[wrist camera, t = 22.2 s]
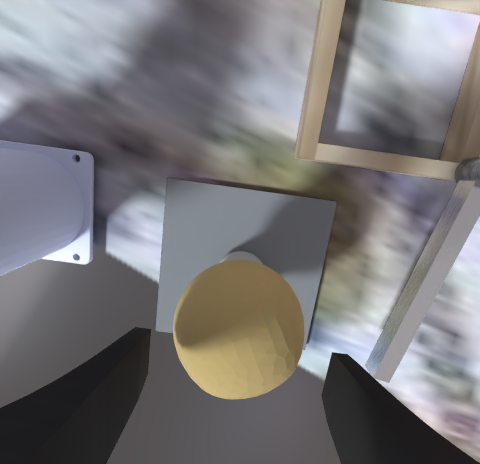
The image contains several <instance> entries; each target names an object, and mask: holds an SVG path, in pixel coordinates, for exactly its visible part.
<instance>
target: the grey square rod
mask: <svg viewBox="0 0 480 464" xmlns="http://www.w3.org/2000/svg"><path fill="white" fill-rule="evenodd" d="M455 180H456V182H457V186H456V188H455V190H454V192H453V193H452V195H451V197H450V199H449V201H448V203H447V205H446V207H445V209H444V211H443V213H442V215H441V217H440V219H439V221H438V223H437V225H436V227H435V229H434V231H433V233H432V235H431V237H430V239H429V241H428V243H427V245H426V247H425V249H424V250H423V252H422V254H421V256H420V258H419V260H418V262H417V264H416V266H415V268H414V270H413V272H412V274H411V276H410V278H409V280H408V282H407V284H406V286H405V288H404V290H403V292H402V294H401V296H400V298H399V300H398V302H397V304H396V306H395V307H394V309H393V311H392V313H391V315H390V317H389V319H388V321H387V323H386V325H385V327H384V329H383V331H382V333H381V335H380V337H379V339H378V341H377V343H376V345H375V347H374V349H373V351H372V353H371V355H370V357H369V359H368V361H367V363H366V364H365V366H366V368H367V369H368V371H369V372H370V374H371V376H372V377H373V378H375V379H378V380H382V381H385V382H388V383H389V382H390V380H391V378H392V376H393V374H394V373H395V371H396V369H397V367H398V365H399V363H400V361H401V360H402V358H403V356H404V354H405V352H406V350H407V349H408V347H409V345H410V343H411V341H412V339H413V337H414V336H415V334H416V332H417V330H418V328H419V326H420V325H421V323H422V321H423V319H424V317H425V315H426V313H427V312H428V310H429V308H430V306H431V304H432V302H433V301H434V299H435V297H436V295H437V293H438V291H439V290H440V288H441V286H442V284H443V282H444V280H445V278H446V277H447V275H448V273H449V271H450V269H451V267H452V266H453V264H454V262H455V260H456V258H457V256H458V254H459V253H460V251H461V249H462V247H463V245H464V243H465V242H466V240H467V238H468V236H469V234H470V232H471V230H472V229H473V227H474V225H475V223H476V221H477V219H478V218H479V216H480V157H475V158H467V159H465V160H463V161H462V162H461V163H460V164H459V165H458V166H457V168H456V170H455Z"/></svg>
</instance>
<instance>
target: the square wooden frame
mask: <svg viewBox="0 0 480 464" xmlns="http://www.w3.org/2000/svg"><path fill="white" fill-rule="evenodd" d="M345 1H346V0H321V3H320V9H319V15H318V20H317V26H316V32H315V38H314V43H313V49H312V55H311V60H310V66H309V72H308V77H307V83H306V89H305V94H304V100H303V106H302V111H301V117H300V123H299V128H298V134H297V140H296V146H295V151H294V157H293V159H300V160H307V161H314V162H321V163H328V164H335V165H342V166H349V167H356V168H363V169H370V170H377V171H384V172H391V173H398V174H405V175H413V176H420V177H427V178H434V179H441V180H448V181H456V180H455V170H456V168H457V166H458V165H459V164H460V163H461V162H462V161H463V160H465V159H467V158H475V157H479V155H480V23H479V27H478V30H477V34H476V37H475V40H474V44H473V47H472V50H471V54H470V57H469V61H468V64H467V67H466V71H465V74H464V78H463V81H462V84H461V88H460V91H459V94H458V98H457V101H456V105H455V108H454V111H453V115H452V118H451V121H450V125H449V128H448V132H447V135H446V138H445V142H444V145H443V149H442V152H441V155H440V159H439V160H433V159H426V158H419V157H412V156H405V155H398V154H391V153H384V152H377V151H370V150H363V149H356V148H349V147H342V146H335V145H328V144H321V143H318V140H319V135H320V130H321V125H322V120H323V114H324V109H325V104H326V99H327V94H328V89H329V84H330V78H331V73H332V68H333V63H334V58H335V53H336V47H337V42H338V37H339V32H340V27H341V22H342V16H343V11H344V6H345ZM385 1H392V2H398V3H405V4H411V5H418V6H424V7H431V8H437V9H444V10H450V11H457V12H463V13H470V14H476V15H480V0H385Z"/></svg>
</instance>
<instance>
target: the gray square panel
mask: <svg viewBox="0 0 480 464" xmlns="http://www.w3.org/2000/svg"><path fill="white" fill-rule="evenodd" d="M336 206H337V202H336V201H331V200H324V199H317V198H310V197H302V196H295V195H288V194H281V193H274V192H266V191H259V190H252V189H245V188H238V187H231V186H223V185H216V184H209V183H202V182H195V181H188V180H180V179H173V178H167V184H166V197H165V211H164V224H163V238H162V252H161V265H160V279H159V292H158V306H157V320H156V331H161V332H169V333H173V321H174V314H175V311H176V307H177V304H178V301H179V299H180V297H181V295H182V293H183V292H184V290H185V289H186V288H187V286H188V285H189V284H190V282H191V281H192V280H193V279H194V278H195V277H196V276H198V275H199V274H200V273H201V272H203V271H204V270H206V269H207V268H209V267H211V266H213V265H215V264H218V263H219V261H220V260H221V259H222V258H223V257H224V256H226V255H227V254H230V253H232V252H237V251H245V252H248V253H251V254H253V255H255V256H256V257H257V258H258V259H259V260H260V261H261V262H262V263H263V265H265V266H267V267H269V268H271V269H273V270H274V271H275V272H277V273H278V274H279V275H281V276H282V277H283V278H284V279H285V280H286V281H287V282H288V284H289V285H290V286H291V288H292V289H293V291H294V292H295V294H296V296H297V298H298V300H299V302H300V305H301V309H302V313H303V318H304V330H305V333H304V344H303V349H302V350H305V347H306V342H307V338H308V333H309V328H310V324H311V319H312V315H313V310H314V306H315V301H316V297H317V292H318V287H319V283H320V278H321V274H322V269H323V265H324V260H325V256H326V251H327V247H328V242H329V237H330V233H331V228H332V224H333V219H334V215H335V210H336Z"/></svg>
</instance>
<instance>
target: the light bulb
mask: <svg viewBox="0 0 480 464" xmlns="http://www.w3.org/2000/svg"><path fill="white" fill-rule="evenodd" d="M304 333H305V330H304V318H303V313H302V309H301V305H300V302H299V300H298V298H297V296H296V294H295V292H294V291H293V289H292V288H291V286H290V285H289V284H288V282H287V281H286V280H285V279H284V278H283V277H282V276H281V275H279V274H278V273H277V272H275V271H274V270H273V269H271V268H269V267H267V266H265V265H263V263H262V262H261V261H260V260H259V259H258V258H257V257H256V256H255V255H253V254H251V253H248V252H245V251H237V252H232V253H230V254H227V255H226V256H224V257H223V258H222V259H221V260H220V261H219V263H218V264H215V265H213V266H211V267H209V268H207V269H206V270H204V271H203V272H201V273H200V274H199V275H198V276H196V277H195V278H194V279H193V280H192V281H191V282H190V284H189V285H188V286H187V288H186V289H185V290H184V292H183V293H182V295H181V297H180V299H179V301H178V304H177V307H176V311H175V314H174V321H173V335H174V342H175V346H176V350H177V353H178V356H179V359H180V361H181V363H182V364H183V366H184V368H185V369H186V371H187V373H188V374H189V376H190V377H191V378H192V379H193V380H194V381H195V382H196V383H197V384H198V385H199V386H200V387H201V388H202V389H203V390H205V391H206V392H207V393H210V394H211V395H213V396H216V397H220V398H225V399H246V398H250V397H255V396H258V395H261V394H264V393H267V392H269V391H270V390H272V389H274V388H276V387H277V386H279V385H281V384H282V383H283V382H284V381H285V380H287V379H288V378H289V377H290V376H291V374H292V373H293V372H294V370H295V369H296V366H297V364H298V362H299V359H300V357H301V353H302V349H303V344H304Z"/></svg>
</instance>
